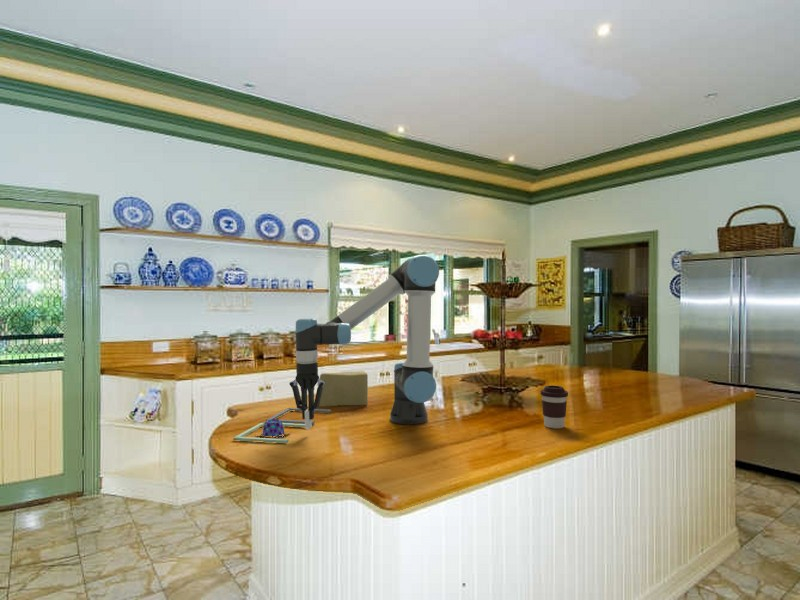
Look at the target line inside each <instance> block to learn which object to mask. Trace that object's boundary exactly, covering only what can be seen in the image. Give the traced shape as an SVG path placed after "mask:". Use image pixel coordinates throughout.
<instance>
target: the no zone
mask: <svg viewBox="0 0 800 600" xmlns="http://www.w3.org/2000/svg"><path fill="white" fill-rule="evenodd" d="M290 410H295V411H302V410H301V409H298V408H297V407H296V408H295V407H288V408H286V409H284V410H282V411H280V412H279V413H277V414H275V415H272V416H271V417H269V418H267V419H266V420H265V422H266V421H267V420H271V419H275V418H277V417H279V416H281V415H283V414H284V413H286V412H288V411H290ZM314 412H324V413H323V414H331V413H332V409H326V408H325V409H324V408H316V409H314ZM330 412H331V413H330ZM283 416H284V415H283ZM280 420H281V421H282V422H283V423H299V424H305V420H298V419H297V420H296V419H294V420H293V419H280ZM315 425H316V424H315V420H312V426H315Z"/></svg>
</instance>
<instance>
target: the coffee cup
mask: <svg viewBox="0 0 800 600" xmlns="http://www.w3.org/2000/svg"><path fill="white" fill-rule="evenodd" d="M540 396H541V398H542V400H541V406H542V415H543V425H544V426H545V427H546V428H550V429H556V430H557V429H564V428H565V422H566V416H567V415H566V414H567V404H568V403H567V397H568V396H569V392H568V391H567V390H565V388H564V386H561V385H544V388H543V389H540Z"/></svg>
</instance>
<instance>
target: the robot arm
mask: <svg viewBox="0 0 800 600" xmlns="http://www.w3.org/2000/svg"><path fill="white" fill-rule="evenodd" d="M439 275H440V267H439V264H438V262H437V261H436V260H435V258H433V257H431V256H429V255H425V254H418V255H415V256H413V257H410V258H408V259H407V260H405V261H404V262H403V263H402V264H401V265H400V266H398V267H397V269H395V270H394V271H393V272H392V273H390V274H389V275H388V278H387V279H386V280H385V281H383V282H382V283H381V284H379V285H378V286H377V287H375V288H373V289H372V290H371V291H369V292H368V293H367V294H365V295H364V296H363V297H362V298H360V299H358V300H357V301H356V302H355V303H353V304H352V305H350V306H349V307H348V308H346V309H345V310H343V311H342V312H341V313H339V314H338V315H337V316H335V317H334V318H332V319H331V320H330V321H327V322H325V323H318V320H317V318H299V319H297V320H296V321H295V361H296V362H297V363H296V365H295V366H296V367H295V369H296V370H295V371H296V376H295V378H294V380H292V381H290V382H289V386H290V387H291V389H292V393H293V394H292V395H293V396H294V397H293V398H294V400H295V405H296V408H298V409H301V410H302V412H301V414H302V417H301V418H302V420H304V421H305V428H304V429H305V430H310V429H311V428H313V425H312V421H313V419H314V418H315V413H314V409H319V407H320V406H319V404H320V399H321V394H322V390H323V387H324V385H325V381H321V380H320V375H319V365H318V364H319V363H318V362H317V361H318V358H319V357H318V356H319V355H318V346H323V345H325V346H326V345H341V346H342V345H344V344H345V345H346V344H348V345H349V343H351V340H352V339H351V338H352V329H354V328H355V327H356V326H358V325H359V324H361V323H362V322H364V321H365V320H366V319H368V318H370V316H372V315H373V314H375V312H377V311H378V310H380V309H381V308H383V307H384V306H385V305H387V304H388V303H390V302H391V301H392V300H394V299H395V298H396V297H398V296H399V295H405V294H406V295H407V322H406V323H407V327H406V329H407V333H406V360H405V361H404V362H397V363H395V365H394V369H393V377H394V378H393V380H394V381H393V382H394V388H393V389H394V396H393V397H394V398H393V399H394V401H393V405H392V408H391V411H390V414H389V415H390V416H389V420H390V421H391V422H392V423H395V424H399V425H419V424H424V423H427V421H428V419H429V418H428V417H429V416H428V411H427V408H426V405H425V402H427V401H429V400H431V399H432V397H434V395H435V393H436V390H437V382H436V379H435V377H434V364H433V363H432V361H430V360H431V359H430V353H431V352H430V351H431V349H430V348H431V347H430V346H431V314H432V313H431V312H432V311H431V307H432V296H433V295H434V294H435V293H436V282H437V281H438V279H439ZM298 385H299V386H300V389H299V386H298ZM315 386H317V388H316V393H315Z"/></svg>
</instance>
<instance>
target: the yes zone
mask: <svg viewBox="0 0 800 600" xmlns="http://www.w3.org/2000/svg"><path fill="white" fill-rule="evenodd" d="M265 422H266V421H261V422H260V423H258V424H256V425H254V426H252V427H251V428H248V429H247V430H245V431H243V432H240V433H239V434H237V435H236V436H234V437H233V439H232V441H233V440H240V441H263V442H276V443H288V442H289V438H265V437H264V438H260V437H255V436H254V437H251V436H246V435H247V434H249V433H251V432H253V431H254V430H256V429H258V428H259V427H261V426H263V425H264V424H265ZM282 424H283V426H293V427H305V424H294V423H282ZM253 433H254V432H253ZM251 434H252V433H251ZM244 436H246V437H244ZM288 444H289V443H288Z"/></svg>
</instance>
